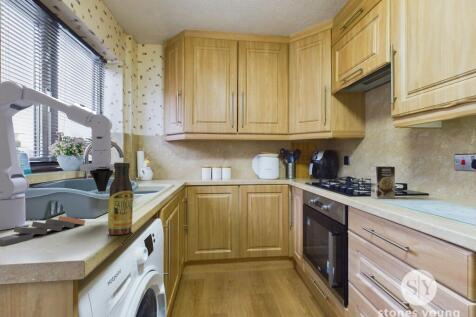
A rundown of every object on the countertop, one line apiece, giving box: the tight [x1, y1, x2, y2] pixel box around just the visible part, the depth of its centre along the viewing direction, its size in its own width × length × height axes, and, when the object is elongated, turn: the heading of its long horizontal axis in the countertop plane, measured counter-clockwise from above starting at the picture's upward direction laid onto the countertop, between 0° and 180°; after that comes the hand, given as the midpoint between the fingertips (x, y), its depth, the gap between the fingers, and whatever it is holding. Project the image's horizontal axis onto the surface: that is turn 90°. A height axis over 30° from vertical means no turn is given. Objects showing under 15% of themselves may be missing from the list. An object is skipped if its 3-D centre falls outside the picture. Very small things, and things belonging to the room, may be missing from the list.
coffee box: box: [370, 165, 396, 200], centre depth 133 cm, size 9×6×16 cm
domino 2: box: [12, 226, 48, 235], centre depth 70 cm, size 1×4×6 cm
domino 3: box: [30, 221, 64, 232], centre depth 74 cm, size 1×4×6 cm
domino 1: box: [0, 233, 34, 247], centre depth 66 cm, size 1×4×6 cm
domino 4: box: [44, 218, 75, 229], centre depth 77 cm, size 1×4×6 cm
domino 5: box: [57, 215, 86, 226], centre depth 81 cm, size 1×4×6 cm
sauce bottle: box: [107, 161, 134, 236], centre depth 73 cm, size 7×6×20 cm
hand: (101, 191), depth 87 cm, fingers closed
